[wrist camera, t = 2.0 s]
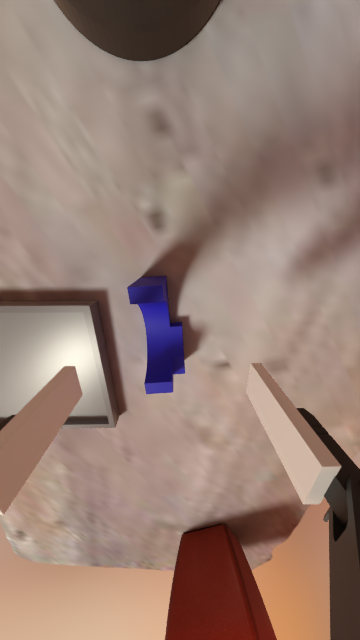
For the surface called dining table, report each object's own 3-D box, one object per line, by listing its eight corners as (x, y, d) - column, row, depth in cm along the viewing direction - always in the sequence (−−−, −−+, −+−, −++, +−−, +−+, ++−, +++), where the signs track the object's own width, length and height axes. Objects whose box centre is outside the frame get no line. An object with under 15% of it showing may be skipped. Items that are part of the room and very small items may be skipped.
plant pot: (233, 514, 42) (266, 668, 27) (254, 542, 49) (290, 679, 33) (165, 530, 45) (158, 678, 29) (193, 555, 52) (200, 686, 36)
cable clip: (183, 359, 24) (186, 391, 19) (153, 361, 24) (146, 393, 19) (178, 274, 20) (180, 283, 14) (140, 277, 20) (127, 287, 14)
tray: (-70, 301, 20) (-95, 306, 18) (97, 300, 21) (89, 305, 19) (-2, 417, 28) (-15, 429, 26) (119, 415, 28) (115, 427, 26)
